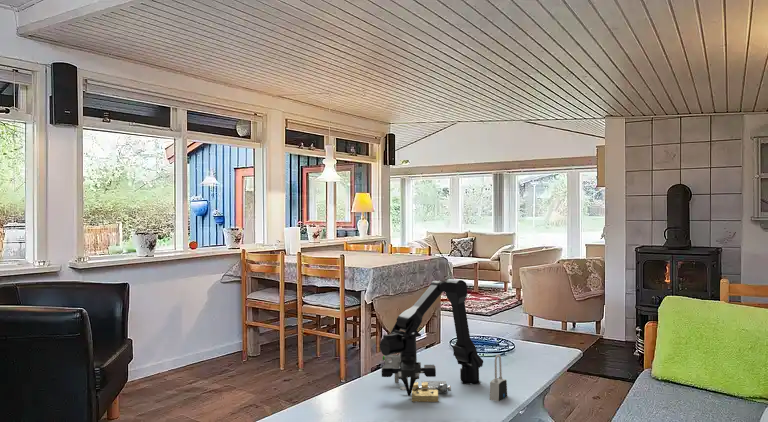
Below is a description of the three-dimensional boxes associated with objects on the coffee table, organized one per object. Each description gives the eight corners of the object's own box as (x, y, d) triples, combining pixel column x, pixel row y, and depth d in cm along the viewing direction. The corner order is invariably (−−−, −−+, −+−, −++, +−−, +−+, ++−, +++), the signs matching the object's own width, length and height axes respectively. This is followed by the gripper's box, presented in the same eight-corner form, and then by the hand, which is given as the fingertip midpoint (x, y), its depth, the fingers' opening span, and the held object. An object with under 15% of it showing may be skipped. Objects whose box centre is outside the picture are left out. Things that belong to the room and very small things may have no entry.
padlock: (499, 401, 196) (498, 357, 196) (488, 399, 199) (487, 355, 199) (508, 396, 201) (507, 353, 201) (497, 394, 204) (497, 351, 204)
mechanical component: (409, 383, 219) (408, 357, 219) (382, 382, 221) (382, 356, 221) (410, 381, 222) (410, 355, 222) (384, 380, 224) (383, 354, 224)
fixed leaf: (449, 386, 214) (449, 376, 214) (451, 395, 204) (450, 385, 204) (401, 386, 215) (401, 377, 215) (400, 395, 205) (400, 385, 205)
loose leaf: (437, 392, 207) (437, 382, 207) (438, 401, 197) (438, 391, 197) (412, 392, 208) (412, 382, 208) (411, 401, 198) (411, 391, 198)
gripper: (379, 356, 195) (381, 403, 195) (435, 356, 193) (436, 403, 193) (382, 348, 206) (383, 392, 206) (434, 348, 205) (435, 392, 205)
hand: (409, 395), depth 202 cm, fingers closed
